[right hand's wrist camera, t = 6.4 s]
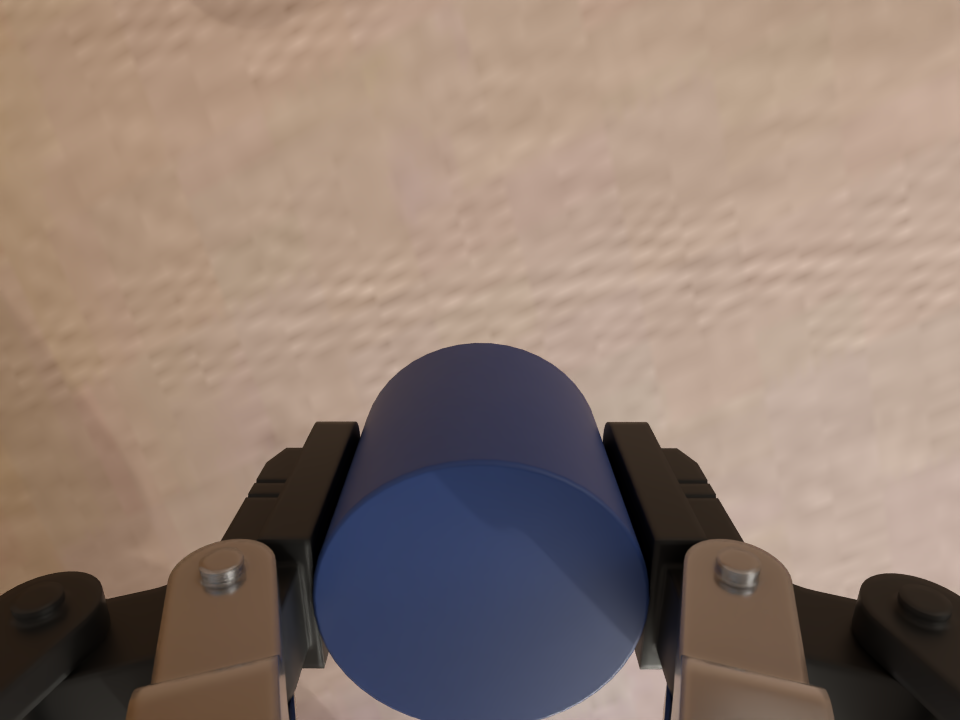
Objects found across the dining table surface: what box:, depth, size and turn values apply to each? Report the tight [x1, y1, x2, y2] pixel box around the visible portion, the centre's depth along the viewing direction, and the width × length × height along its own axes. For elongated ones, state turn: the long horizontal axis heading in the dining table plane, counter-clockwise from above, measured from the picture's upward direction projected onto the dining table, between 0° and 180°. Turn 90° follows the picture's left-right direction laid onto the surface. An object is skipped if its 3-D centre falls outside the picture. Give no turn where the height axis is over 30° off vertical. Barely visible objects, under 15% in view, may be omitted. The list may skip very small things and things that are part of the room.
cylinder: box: [312, 343, 649, 720], centre depth 11 cm, size 4×4×4 cm
